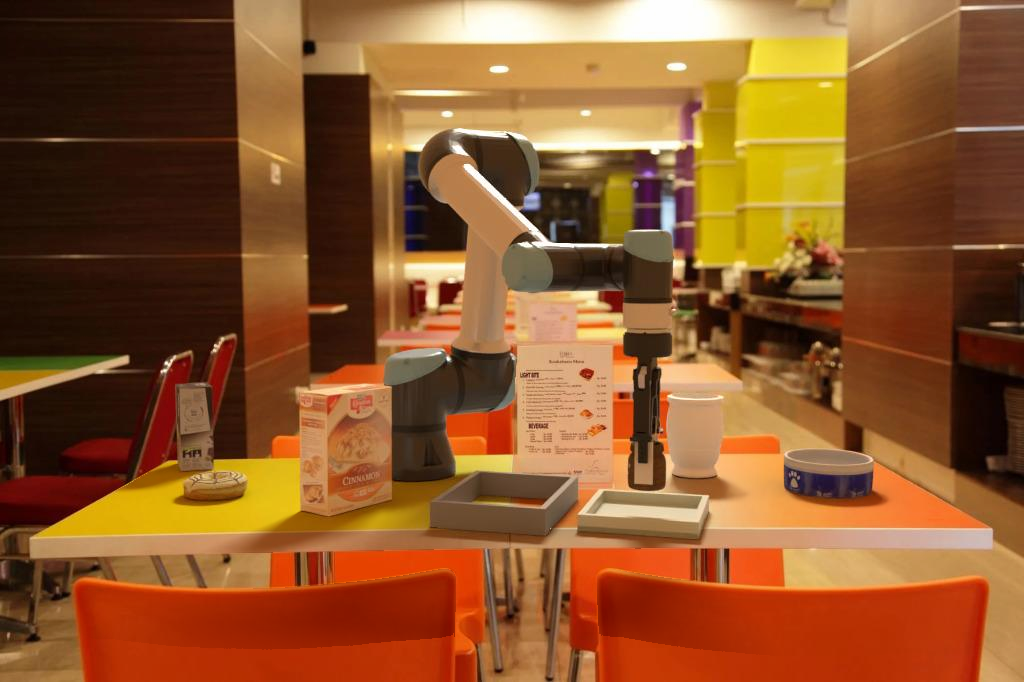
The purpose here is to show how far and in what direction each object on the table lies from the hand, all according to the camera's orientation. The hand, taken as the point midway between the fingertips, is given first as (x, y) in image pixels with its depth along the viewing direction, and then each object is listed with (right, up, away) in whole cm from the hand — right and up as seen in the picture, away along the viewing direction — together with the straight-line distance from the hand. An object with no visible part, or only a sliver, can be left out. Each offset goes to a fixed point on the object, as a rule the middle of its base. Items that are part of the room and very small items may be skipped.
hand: (646, 479), depth 164 cm
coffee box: (-83, -3, +43) cm, 93 cm away
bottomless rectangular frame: (-22, -6, +5) cm, 23 cm away
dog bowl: (+35, -5, +23) cm, 42 cm away
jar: (+13, -4, +35) cm, 38 cm away
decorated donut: (-72, -5, +18) cm, 74 cm away
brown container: (0, -2, 0) cm, 2 cm away
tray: (0, -6, +1) cm, 7 cm away
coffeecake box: (-48, -6, +11) cm, 50 cm away
